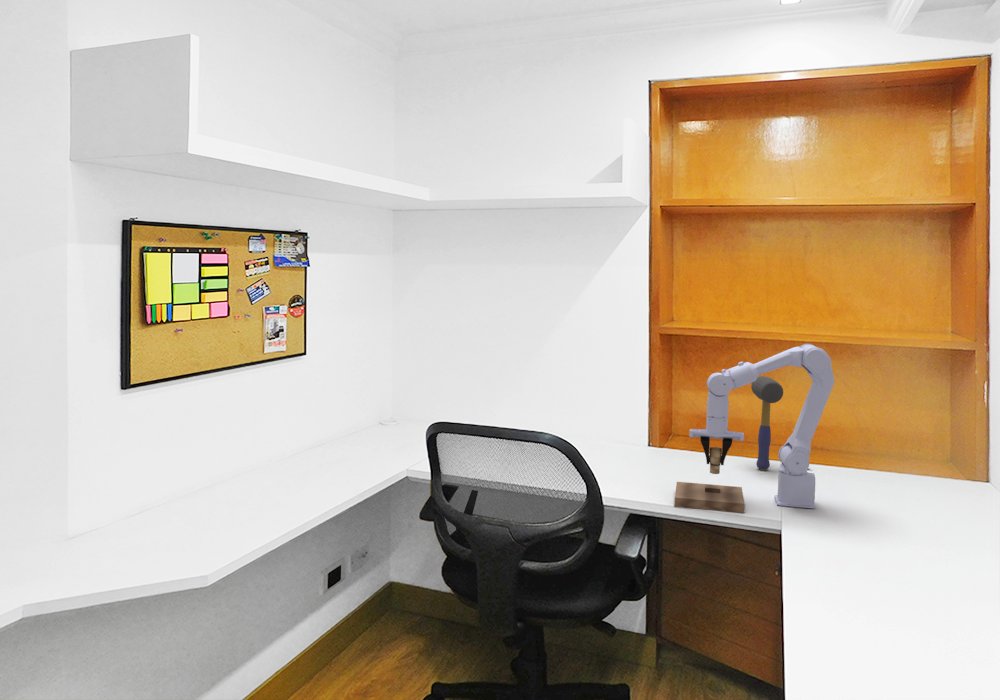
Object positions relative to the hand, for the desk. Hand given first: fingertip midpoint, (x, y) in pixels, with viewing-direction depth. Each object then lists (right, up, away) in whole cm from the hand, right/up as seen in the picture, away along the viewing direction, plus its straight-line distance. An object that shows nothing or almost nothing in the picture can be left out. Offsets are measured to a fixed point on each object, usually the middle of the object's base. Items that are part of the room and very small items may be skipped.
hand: (715, 463), depth 202 cm
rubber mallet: (+24, -7, +30) cm, 39 cm away
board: (-2, -10, -1) cm, 10 cm away
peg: (0, -3, 0) cm, 3 cm away
